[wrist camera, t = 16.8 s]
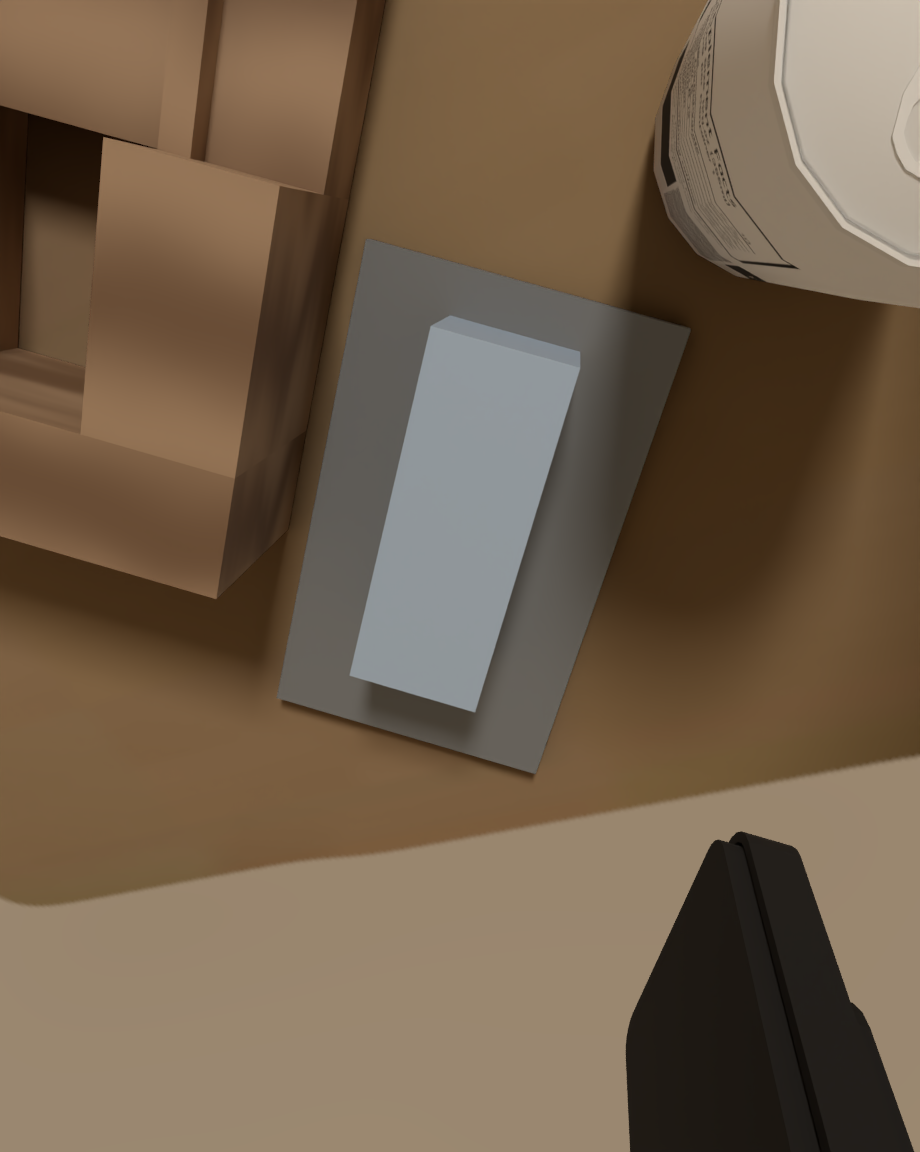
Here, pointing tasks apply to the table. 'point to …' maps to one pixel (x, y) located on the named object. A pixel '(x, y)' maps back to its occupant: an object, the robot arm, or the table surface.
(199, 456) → the jig
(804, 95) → the supplement can
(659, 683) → the table surface
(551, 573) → the mat
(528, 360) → the bar
